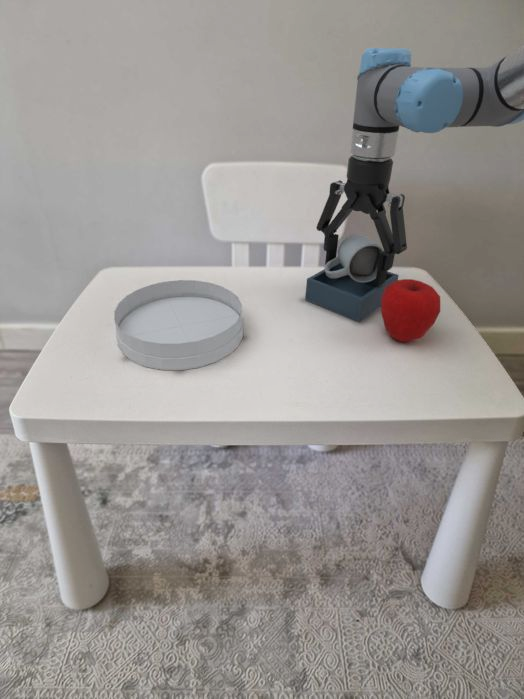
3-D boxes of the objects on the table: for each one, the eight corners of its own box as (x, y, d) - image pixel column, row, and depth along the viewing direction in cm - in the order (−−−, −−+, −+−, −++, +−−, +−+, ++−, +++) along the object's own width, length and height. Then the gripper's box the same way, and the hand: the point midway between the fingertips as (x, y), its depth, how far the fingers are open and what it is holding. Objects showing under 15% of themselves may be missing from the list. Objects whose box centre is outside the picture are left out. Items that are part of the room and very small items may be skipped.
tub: (394, 296, 94) (398, 274, 91) (359, 322, 85) (363, 300, 82) (342, 277, 101) (345, 257, 98) (305, 300, 92) (306, 278, 89)
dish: (262, 353, 76) (263, 328, 73) (128, 383, 69) (123, 357, 66) (220, 294, 93) (219, 272, 90) (109, 314, 86) (104, 290, 83)
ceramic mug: (367, 264, 94) (372, 228, 90) (383, 281, 88) (389, 243, 83) (318, 268, 93) (321, 232, 88) (331, 286, 86) (335, 248, 82)
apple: (442, 344, 79) (459, 289, 73) (397, 356, 76) (410, 299, 70) (407, 317, 87) (419, 265, 81) (364, 327, 84) (374, 273, 78)
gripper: (303, 149, 81) (295, 264, 93) (426, 172, 69) (398, 301, 81) (326, 143, 86) (316, 253, 98) (446, 164, 73) (417, 286, 86)
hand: (353, 275), depth 90 cm, fingers closed on ceramic mug, 11 cm apart
